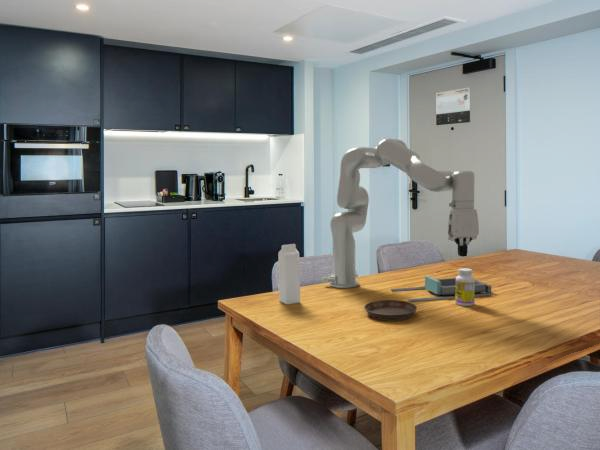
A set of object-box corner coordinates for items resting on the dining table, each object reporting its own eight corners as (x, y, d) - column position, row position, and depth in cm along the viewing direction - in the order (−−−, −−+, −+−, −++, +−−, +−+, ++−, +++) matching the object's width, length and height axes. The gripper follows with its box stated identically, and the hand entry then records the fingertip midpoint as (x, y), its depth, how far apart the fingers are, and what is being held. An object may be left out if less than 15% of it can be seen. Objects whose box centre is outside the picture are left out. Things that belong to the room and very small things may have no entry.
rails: (409, 301, 187) (409, 294, 187) (390, 290, 205) (390, 283, 205) (495, 295, 195) (495, 287, 195) (470, 284, 212) (470, 278, 212)
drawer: (439, 297, 192) (439, 282, 191) (422, 289, 206) (422, 275, 205) (485, 294, 196) (485, 279, 196) (466, 286, 210) (466, 272, 209)
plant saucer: (382, 326, 160) (382, 316, 160) (354, 312, 177) (354, 303, 176) (427, 318, 168) (427, 309, 167) (396, 305, 184) (396, 297, 183)
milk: (300, 302, 190) (299, 244, 187) (286, 304, 187) (285, 246, 184) (292, 298, 195) (292, 242, 193) (278, 301, 192) (277, 244, 190)
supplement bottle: (452, 301, 186) (452, 267, 185) (469, 301, 187) (470, 267, 186) (459, 306, 180) (460, 271, 178) (477, 306, 180) (478, 270, 179)
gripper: (449, 207, 175) (448, 258, 177) (487, 205, 178) (486, 256, 180) (438, 205, 182) (438, 255, 184) (475, 204, 186) (475, 253, 188)
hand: (462, 255), depth 182 cm, fingers closed
